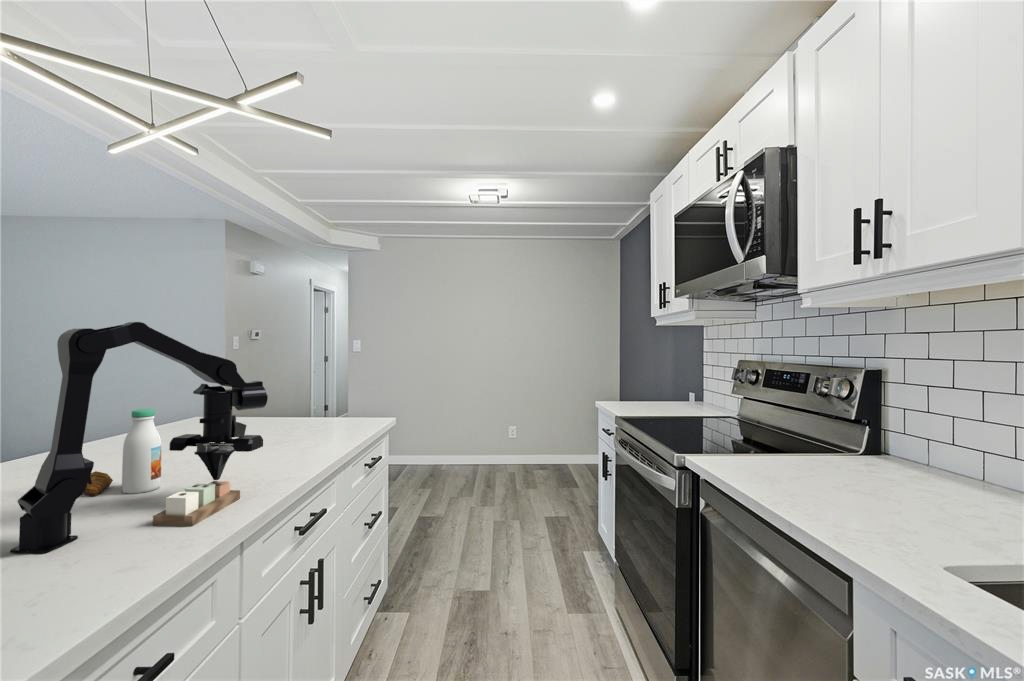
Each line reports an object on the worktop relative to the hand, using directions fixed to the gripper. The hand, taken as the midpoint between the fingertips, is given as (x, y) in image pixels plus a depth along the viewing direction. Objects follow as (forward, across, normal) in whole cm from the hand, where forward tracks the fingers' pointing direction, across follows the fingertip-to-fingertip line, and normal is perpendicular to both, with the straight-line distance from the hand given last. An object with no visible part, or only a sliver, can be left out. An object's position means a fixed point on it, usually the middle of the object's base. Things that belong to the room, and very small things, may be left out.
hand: (216, 479), depth 110 cm
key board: (+5, 0, +6) cm, 8 cm away
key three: (+5, 0, 0) cm, 5 cm away
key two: (+4, 0, +6) cm, 7 cm away
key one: (+4, 0, +11) cm, 12 cm away
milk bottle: (+6, +24, -9) cm, 26 cm away
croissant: (+6, +35, -8) cm, 36 cm away
